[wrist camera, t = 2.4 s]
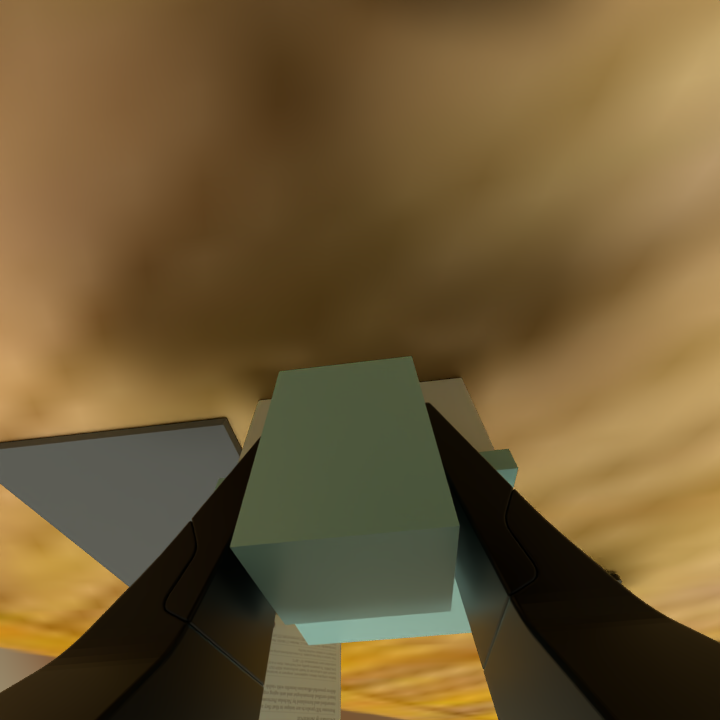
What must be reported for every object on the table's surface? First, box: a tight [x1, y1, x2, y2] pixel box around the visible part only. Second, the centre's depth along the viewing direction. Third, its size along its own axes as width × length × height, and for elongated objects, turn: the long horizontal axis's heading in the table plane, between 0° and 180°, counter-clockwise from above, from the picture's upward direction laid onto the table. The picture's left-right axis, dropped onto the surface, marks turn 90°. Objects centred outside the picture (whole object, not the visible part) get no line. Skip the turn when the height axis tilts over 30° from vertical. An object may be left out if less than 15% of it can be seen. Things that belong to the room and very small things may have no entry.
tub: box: [238, 378, 494, 463], centre depth 16 cm, size 14×9×4 cm, turn 7°
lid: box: [215, 356, 518, 645], centre depth 12 cm, size 18×9×5 cm, turn 7°
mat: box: [0, 418, 242, 587], centre depth 20 cm, size 20×12×1 cm, turn 7°
